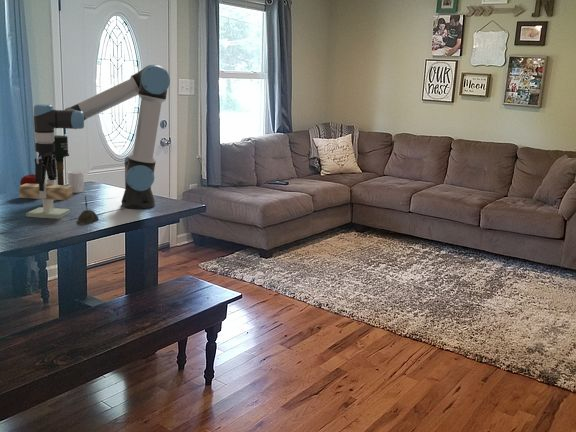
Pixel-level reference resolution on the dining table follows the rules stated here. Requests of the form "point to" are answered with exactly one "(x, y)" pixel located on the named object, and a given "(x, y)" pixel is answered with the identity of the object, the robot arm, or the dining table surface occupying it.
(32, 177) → the apple
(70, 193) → the beam
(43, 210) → the fulcrum
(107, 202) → the dining table surface
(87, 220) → the sword in stone
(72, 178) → the white cup
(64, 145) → the stick grenade
